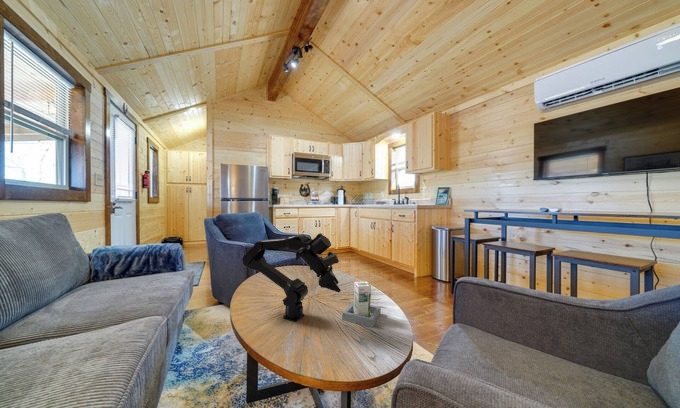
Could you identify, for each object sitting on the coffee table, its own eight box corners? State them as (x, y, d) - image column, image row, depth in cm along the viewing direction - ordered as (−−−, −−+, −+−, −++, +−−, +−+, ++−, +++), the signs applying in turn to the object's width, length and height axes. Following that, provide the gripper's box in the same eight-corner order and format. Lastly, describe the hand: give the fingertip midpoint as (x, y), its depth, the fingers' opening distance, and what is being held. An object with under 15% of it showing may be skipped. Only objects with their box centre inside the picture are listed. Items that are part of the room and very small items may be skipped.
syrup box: (356, 320, 102) (358, 286, 101) (352, 313, 108) (354, 281, 107) (369, 319, 103) (371, 285, 103) (365, 313, 109) (366, 280, 109)
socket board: (342, 319, 102) (342, 312, 102) (353, 307, 114) (353, 301, 114) (372, 327, 97) (372, 320, 97) (380, 313, 109) (380, 307, 109)
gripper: (328, 252, 91) (356, 281, 93) (326, 242, 110) (350, 267, 111) (306, 272, 91) (335, 302, 92) (308, 259, 109) (332, 284, 111)
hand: (338, 287), depth 102 cm, fingers open, 9 cm apart
